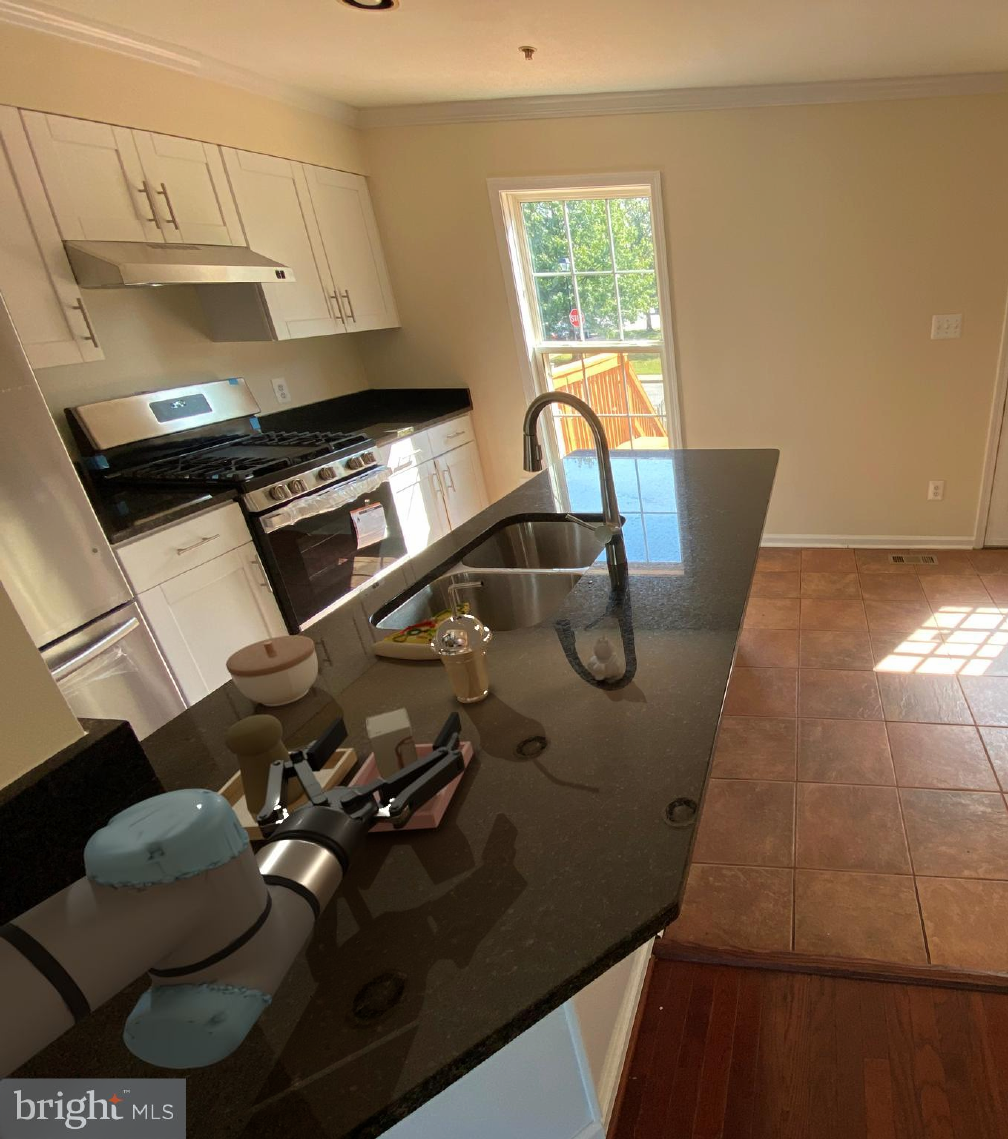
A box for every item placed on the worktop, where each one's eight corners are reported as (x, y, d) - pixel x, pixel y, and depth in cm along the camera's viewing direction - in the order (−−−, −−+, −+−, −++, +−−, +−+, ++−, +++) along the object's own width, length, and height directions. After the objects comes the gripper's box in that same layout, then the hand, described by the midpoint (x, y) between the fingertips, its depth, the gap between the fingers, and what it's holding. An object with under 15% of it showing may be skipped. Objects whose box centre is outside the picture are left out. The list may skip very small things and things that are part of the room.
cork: (242, 796, 75) (212, 723, 71) (300, 771, 79) (275, 700, 75) (252, 822, 72) (221, 746, 67) (313, 794, 76) (287, 721, 71)
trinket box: (310, 668, 103) (294, 619, 99) (338, 690, 97) (322, 639, 93) (231, 698, 95) (211, 646, 91) (257, 724, 89) (236, 669, 85)
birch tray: (185, 844, 69) (178, 831, 68) (260, 765, 81) (255, 753, 80) (300, 837, 70) (295, 823, 70) (357, 759, 82) (353, 747, 82)
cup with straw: (481, 674, 102) (460, 563, 94) (515, 692, 97) (495, 577, 89) (432, 698, 95) (404, 581, 88) (465, 719, 91) (438, 597, 83)
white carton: (428, 793, 76) (410, 727, 72) (387, 807, 74) (367, 740, 70) (422, 769, 80) (405, 705, 76) (383, 782, 78) (364, 717, 74)
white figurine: (627, 668, 104) (624, 626, 101) (614, 690, 98) (610, 646, 95) (597, 665, 105) (593, 624, 102) (582, 687, 99) (576, 644, 96)
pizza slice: (366, 659, 106) (362, 643, 105) (433, 606, 125) (430, 592, 124) (452, 663, 105) (449, 647, 104) (506, 609, 124) (504, 595, 123)
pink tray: (326, 835, 71) (321, 822, 70) (379, 758, 83) (376, 746, 82) (436, 827, 72) (433, 814, 71) (473, 752, 84) (470, 741, 83)
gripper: (170, 904, 57) (301, 753, 77) (449, 883, 60) (507, 742, 79) (139, 845, 54) (284, 703, 74) (434, 825, 57) (499, 693, 76)
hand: (400, 723), depth 76 cm, fingers open, 13 cm apart
